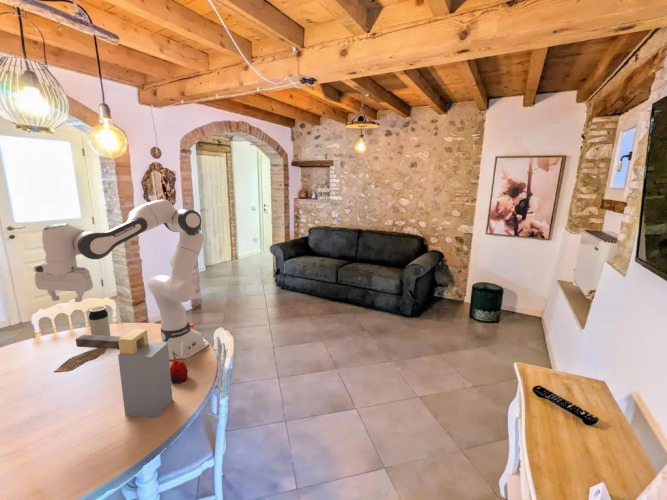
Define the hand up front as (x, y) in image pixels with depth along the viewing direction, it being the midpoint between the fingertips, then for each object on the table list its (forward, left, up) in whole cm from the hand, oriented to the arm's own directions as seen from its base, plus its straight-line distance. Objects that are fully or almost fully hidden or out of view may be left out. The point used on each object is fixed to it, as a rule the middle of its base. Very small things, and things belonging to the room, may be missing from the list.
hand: (67, 300), depth 125 cm
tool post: (-10, +35, -37) cm, 52 cm away
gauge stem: (-3, +23, -13) cm, 27 cm away
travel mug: (-22, -37, -37) cm, 57 cm away
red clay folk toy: (-26, +28, -37) cm, 53 cm away
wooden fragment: (-10, -24, -38) cm, 46 cm away
